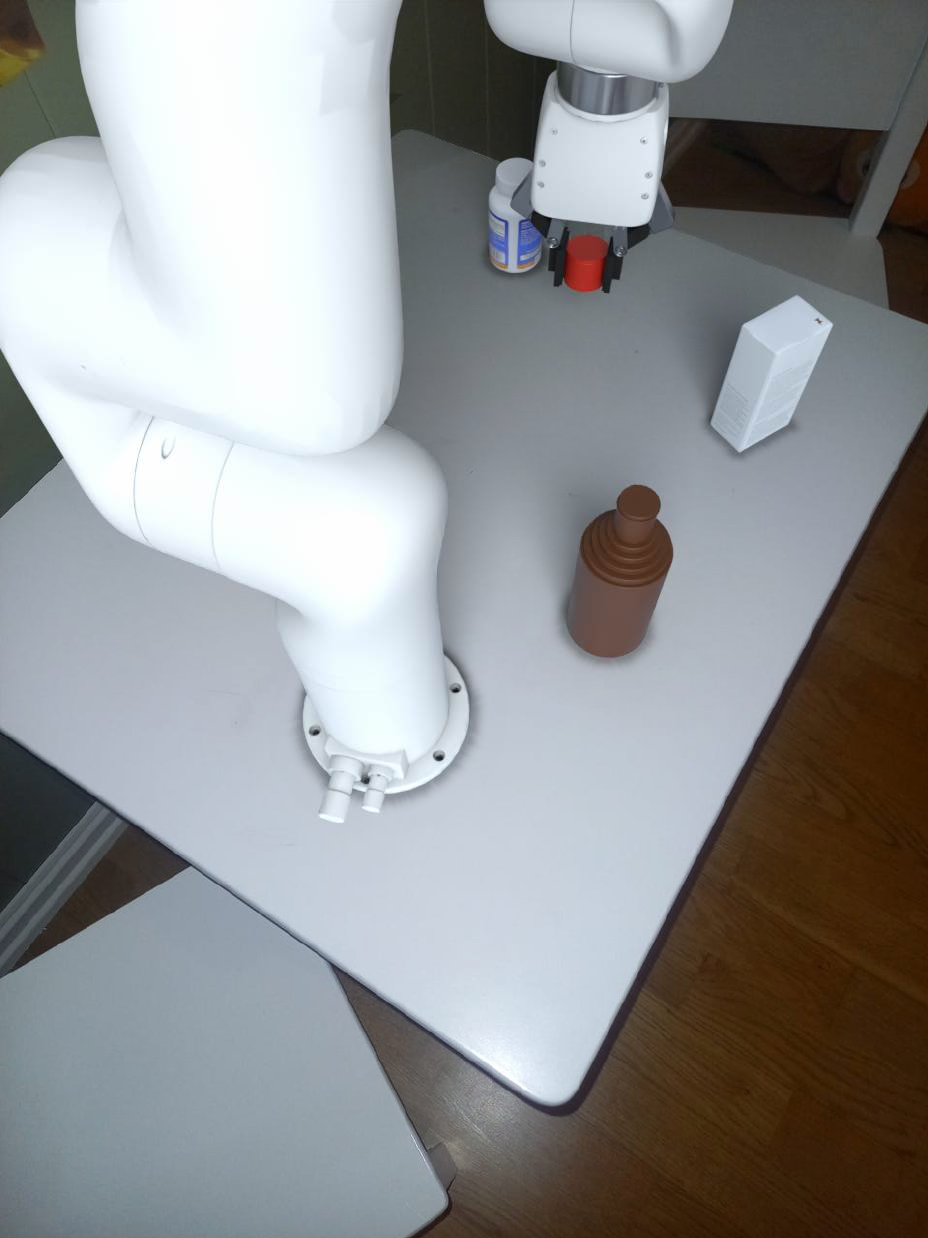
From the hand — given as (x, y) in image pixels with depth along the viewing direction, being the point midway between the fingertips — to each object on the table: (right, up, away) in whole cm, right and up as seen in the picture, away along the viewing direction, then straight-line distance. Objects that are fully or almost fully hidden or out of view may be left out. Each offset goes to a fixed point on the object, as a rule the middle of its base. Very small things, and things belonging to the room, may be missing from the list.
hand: (583, 277), depth 77 cm
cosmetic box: (+15, -13, 0) cm, 20 cm away
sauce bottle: (+1, -31, -9) cm, 32 cm away
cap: (0, 0, +1) cm, 1 cm away
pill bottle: (-6, +7, +12) cm, 14 cm away
